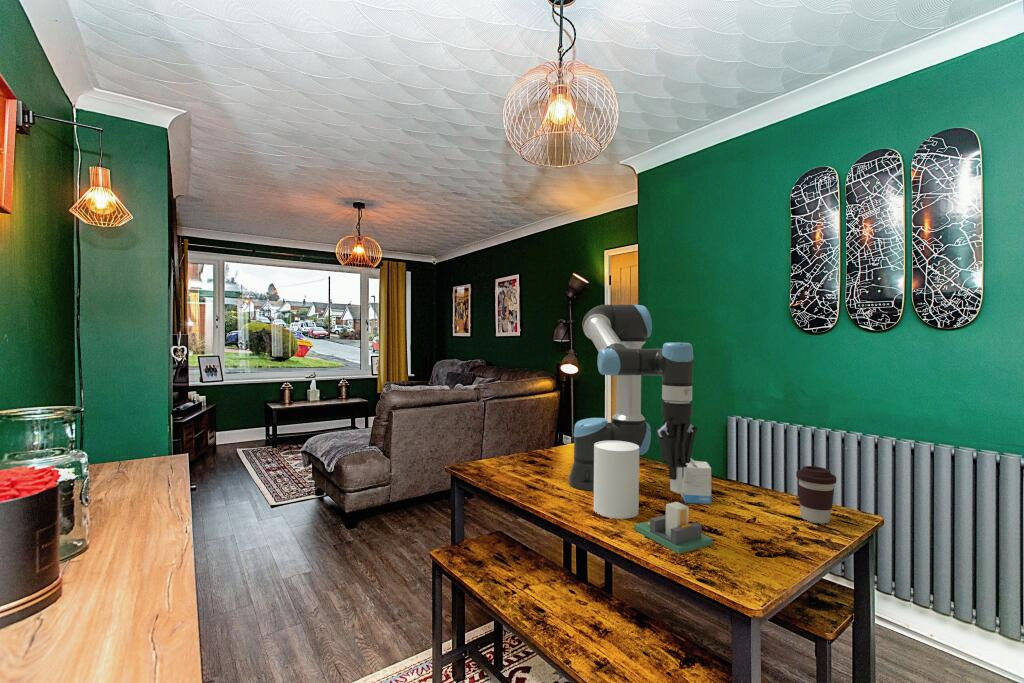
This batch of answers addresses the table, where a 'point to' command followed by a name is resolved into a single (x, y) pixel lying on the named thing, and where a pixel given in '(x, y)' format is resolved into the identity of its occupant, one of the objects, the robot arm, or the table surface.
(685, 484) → the ink box
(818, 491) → the coffee cup
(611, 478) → the canister
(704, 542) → the board
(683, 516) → the plug
